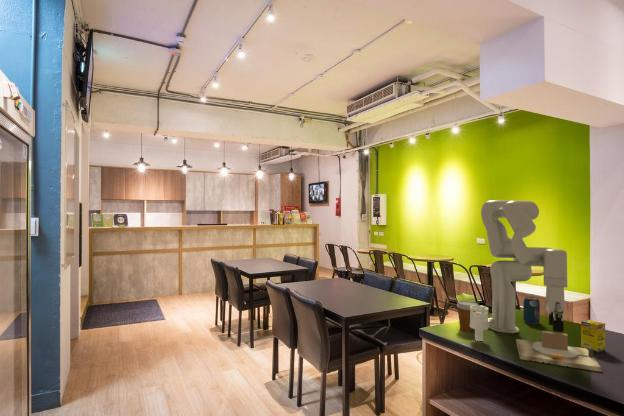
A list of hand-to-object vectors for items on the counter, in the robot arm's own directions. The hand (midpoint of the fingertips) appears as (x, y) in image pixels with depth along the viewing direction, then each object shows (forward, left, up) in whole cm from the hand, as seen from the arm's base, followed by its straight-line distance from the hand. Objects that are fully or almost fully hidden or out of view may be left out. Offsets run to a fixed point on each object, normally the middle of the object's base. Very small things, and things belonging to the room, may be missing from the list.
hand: (555, 328), depth 141 cm
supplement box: (+15, +16, -11) cm, 24 cm away
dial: (0, 0, -9) cm, 9 cm away
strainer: (-26, +6, -11) cm, 29 cm away
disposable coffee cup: (-31, +21, -11) cm, 39 cm away
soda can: (-3, +49, -11) cm, 50 cm away
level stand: (0, +1, -10) cm, 10 cm away
